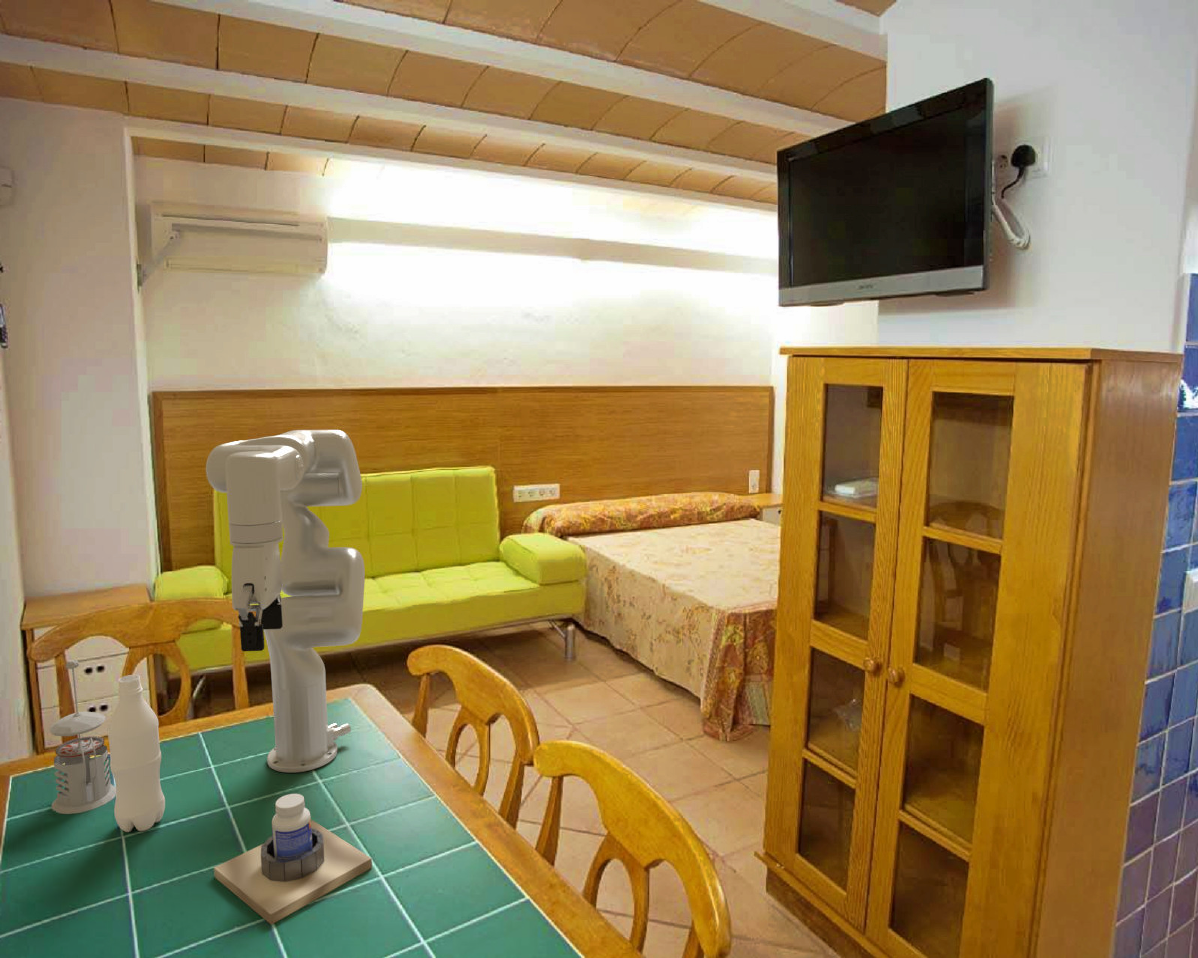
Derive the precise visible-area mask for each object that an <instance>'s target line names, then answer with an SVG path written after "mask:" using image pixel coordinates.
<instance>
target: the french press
mask: <svg viewBox="0 0 1198 958" xmlns="http://www.w3.org/2000/svg"><path fill="white" fill-rule="evenodd" d="M78 667H80V663H79V661H78V660H76V659H71V660H68V661H67V662H66V663H65V668H66V669H68V670H71V671H72V682H73V692H74V702H75V703H74V704H75V712H74V713H70V714H68V715H66V716H64V717H62V718H60V719H58V720H57V721H56V722H54V723H53V724H52V725H51V726H50V727H49V732H50V733H51V735H53V736H56V737H74V736H77V735H78V738H73V739H71V740H70V739H69V740H67V741H66V742H64V743H62V744H60V745H58V746H57V747H56V748H55V751H54V752H55V755H56V756H55V757H54V758H53V759H54V760H53V766H54V767H53V768H54V770H57V771H55V772H54V775H55V777H57V778H55V783H56V784H58V785H56V791H59V792H56V796H57V797H56V798H55V799H54V801H52V803H51V810H52V809H53V810H52V811H54V810H55V811H56V812H58V813H57V814H64V815H70V814H71V815H72V814H79V813H83V812H88V811H91V810H94V809H97V808H99V807H102V806H104V805H106V804H107V803H109V802H111V801H112V800H113V799H115V798H116V785H113V784H112V783H111V778H110V761H109V757H108V756H109V755H108V746H107V745H106V744H105V739H104V738H103V737H101V736H94V735H92V736H91V735H90V736H89V735H88V736H82V737H81V735H83V734H87V733H89V732H92V731H93V730H96V729H98V728H99V727H100V726H101V725H102V724H104V722H105V721H106V716H105V715H103V714H102V713H98V712H94V711H92V712H91V711H79V709H78V699H77V689H76V688H77V687H76V677H75V669H76V668H78ZM91 756H93V757H94V758H91ZM106 768H107V769H106ZM62 773H63V774H62ZM62 780H64V781H62ZM63 787H64V788H63ZM55 811H54V812H55ZM56 812H55V813H56Z"/></svg>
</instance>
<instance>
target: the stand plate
mask: <svg viewBox="0 0 1198 958" xmlns="http://www.w3.org/2000/svg"><path fill="white" fill-rule="evenodd" d="M311 828H314V829H316V830H317V831H319V832H321V833H322V834H323V843H324V862H323V863H322V865H321V866H320V867H319V868H318V870H316V871H315V872H313V873H311V874H310V875H308V876H306V877H304V878H302V879H297V880H292V881H288V882H280V881H271V880H269V879H268V878H266V877H265V876H264V875H263V874H262V867H261V846H262V845H263V844H264V843H261V844H260V845H258V846H256V847H253V848H252V849H250V850H248V851H245V852H244V853H242V854H239V855H238V856H235V857H233V858H231V859H229V860H226V861H225V862H223V863H220V864H219V865H216V866H215V867H213V872H214V875H213V876H214V878H215V879H216V880H217V881H218V882H220V883H221V884H222V885H223V886H225V887H226V889H228V890H230V892H231V893H233V894H234V895H235V896H237V897H238V898H239V899H240V900H241V901H242V902H244V903H245V904H246V905H247V906H248V907H249V908H251V909H252V910H253V911H254V912H256V913H257V914H258V915H259V916H260V917H262V918H263V919H264V920H265V921H266V922H267V923H269V925H273V924H275V923H277V922H279V921H280V920H282V919H284V918H286V917H288V916H289V915H291V914H293V913H294V912H297V911H298V910H299V909H301V908H303V907H305V906H307V905H309V904H311V903H312V902H314V901H316V900H317V899H319V898H321V897H323V896H324V895H327V894H328V893H330V892H332V891H334V890H335V889H337V888H338V887H340V886H343V885H344V884H346V883H347V882H349V881H351V880H353V879H354V878H357V877H358V876H359V875H362V874H363V873H365V872H366V871H369V870H371V869H372V868H373V860H372V857H370V856H369V855H367V854H366V853H365V852H363V851H361V850H360V849H358V848H356V847H354V845H351V844H350V843H348V842H347V841H346V840H344V839H342V838H340V837H339V836H338V835H336V834H335V833H333V832H331V831H330V830H329V829H327V828H325V827H324V826H322V825H320V824H319V823H318V822H317V821H314V820H312V819H311Z"/></svg>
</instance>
